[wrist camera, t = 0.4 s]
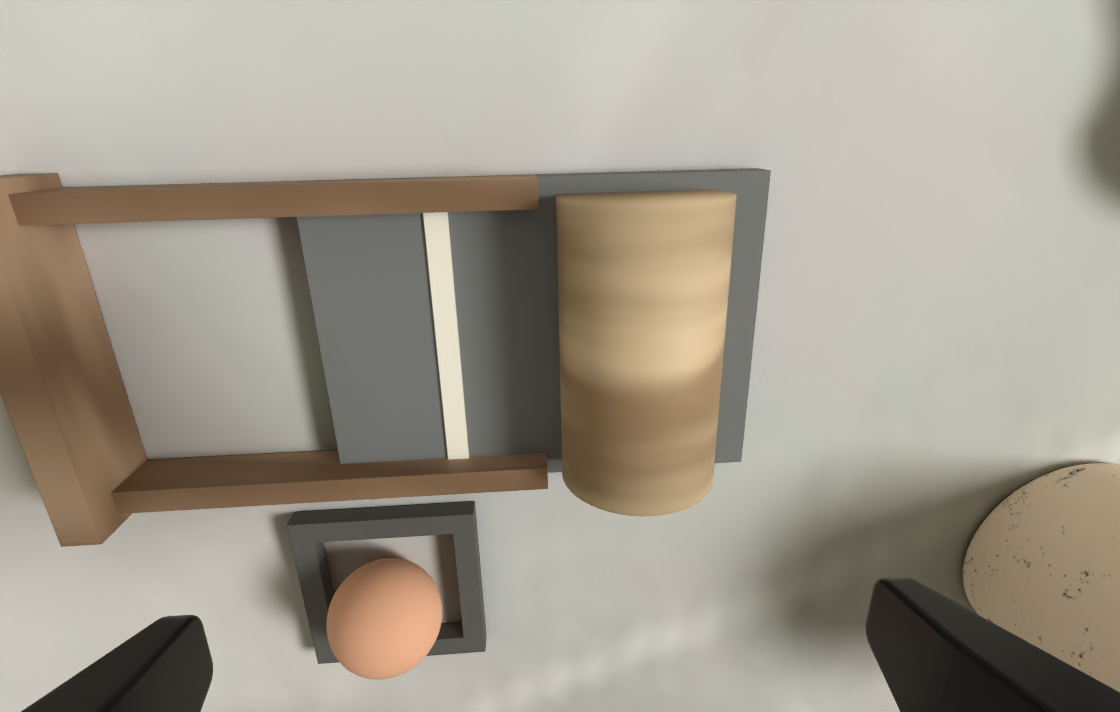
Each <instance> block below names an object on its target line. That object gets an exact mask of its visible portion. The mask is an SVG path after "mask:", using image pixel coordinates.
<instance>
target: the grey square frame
mask: <svg viewBox="0 0 1120 712" xmlns="http://www.w3.org/2000/svg"><path fill="white" fill-rule="evenodd" d="M287 527H288V532H289V536H290V541H291V545H292V549H293V554H294V558H295V563H296V567H297V572H298V576H299V581H300V585H301V590H302V594H303V598H304V603H305V607H306V612H307V616H308V621H309V625H310V630H311V634H312V639H313V643H314V647H315V652H316V656H317V661H318V664H322V663H336V662H339V661H338V660H337V658H336V657H335V655H334V653H333V651H332V649H331V647H330V644H329V641H328V637H327V627H326V625H327V614H328V610H329V606H330V603H331V601H332V598H333V596H334V593H333V588H332V583H331V578H330V573H329V568H328V563H327V558H326V553H325V548H324V543H323V542H330V541H346V540H362V539H378V538H395V537H411V536H427V535H443V534H453V539H454V548H455V558H456V567H457V577H458V587H459V596H460V606H461V615H462V622H460V623H446V624H441V627H440V631H439V634H438V636H437V639H436V641H435V643H434V645H433V646H432V648H431V650H430V651H429V652H428V654H427V655H426V656H430V655H444V654H457V653H471V652H484V651H485V649H486V627H485V615H484V603H483V592H482V580H481V569H480V557H479V545H478V534H477V522H476V511H475V501H473V502H456V503H439V504H422V505H405V506H388V507H372V508H355V509H338V510H321V511H304V512H295V513H294V514H293V516H292V518H291V520H290V521H289V523H288V525H287Z"/></svg>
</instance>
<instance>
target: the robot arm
mask: <svg viewBox="0 0 1120 712" xmlns="http://www.w3.org/2000/svg"><path fill="white" fill-rule="evenodd" d="M866 635H867V639H868V642H869V645H870V647H871V649H872V651H873V654H874V656H875V658H876V660H877V662H878V664H879V667H880V669H881V671H882V673H883V675H884V677H885V679H886V682H887V684H888V686H889V688H890V690H891V692H892V695H893V697H894V699H895V701H896V703H897V705H898V708H899V710H900V712H1120V692H1119V691H1117V690H1115V689H1113V688H1111V687H1110V686H1108V685H1106V684H1104V683H1102V682H1100V681H1099V680H1097V679H1095V678H1093V677H1091V676H1089V675H1088V674H1086V673H1084V672H1082V671H1080V670H1079V669H1077V668H1075V667H1073V666H1071V665H1069V664H1068V663H1066V662H1064V661H1062V660H1060V659H1058V658H1057V657H1055V656H1053V655H1051V654H1049V653H1047V652H1046V651H1044V650H1042V649H1040V648H1038V647H1036V646H1035V645H1033V644H1031V643H1029V642H1027V641H1026V640H1024V639H1022V638H1020V637H1018V636H1016V635H1015V634H1013V633H1011V632H1009V631H1007V630H1005V629H1004V628H1002V627H1000V626H998V625H996V624H994V623H993V622H991V621H989V620H987V619H985V618H983V617H982V616H980V615H978V614H976V613H974V612H972V611H971V610H969V609H967V608H965V607H963V606H962V605H960V604H958V603H956V602H954V601H952V600H951V599H949V598H947V597H945V596H943V595H941V594H940V593H938V592H936V591H934V590H932V589H930V588H929V587H927V586H925V585H923V584H921V583H919V582H918V581H916V580H914V579H912V578H909V577H886V578H880V579H878V580H877V581H876V583H875V584H874V587H873V592H872V596H871V601H870V606H869V611H868V616H867V620H866ZM212 675H213V662H212V658H211V654H210V650H209V647H208V643H207V639H206V635H205V631H204V628H203V624H202V622H201V620H200V619H199V618H198V617H197V616H194V615H181V616H167V617H163V618H160V619H159V620H157V621H155V622H154V623H152V624H151V625H149V626H148V627H146V628H145V629H143V630H142V631H140V632H139V633H137V634H136V635H134V636H133V637H131V638H130V639H128V640H127V641H125V642H124V643H122V644H121V645H120V646H118V647H117V648H115V649H114V650H112V651H111V652H109V653H108V654H106V655H105V656H103V657H102V658H100V659H99V660H97V661H96V662H94V663H93V664H91V665H90V666H88V667H87V668H85V669H84V670H82V671H81V672H79V673H78V674H76V675H75V676H73V677H72V678H70V679H69V680H67V681H66V682H64V683H63V684H61V685H60V686H59V687H57V688H56V689H54V690H53V691H51V692H50V693H48V694H47V695H45V696H44V697H42V698H41V699H39V700H38V701H36V702H35V703H33V704H32V705H30V706H29V707H27V708H26V709H24V710H23V711H21V712H200V711H201V709H202V706H203V703H204V701H205V698H206V695H207V692H208V690H209V687H210V684H211V680H212Z"/></svg>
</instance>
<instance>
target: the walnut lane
mask: <svg viewBox="0 0 1120 712" xmlns="http://www.w3.org/2000/svg"><path fill="white" fill-rule="evenodd" d="M533 209H539V208H538V180H537V177H536V175H501V176H464V177H427V178H391V179H354V180H318V181H281V182H245V183H208V184H171V185H135V186H98V187H62V185H61V182H60V179H59V175H58V173H49V174H13V175H2V176H0V393H1V396H2V398H3V401H4V403H5V406H6V409H7V411H8V414H9V416H10V419H11V421H12V424H13V426H14V429H15V431H16V434H17V436H18V439H19V441H20V444H21V446H22V449H23V452H24V454H25V457H26V459H27V462H28V464H29V467H30V469H31V472H32V474H33V477H34V479H35V482H36V484H37V487H38V489H39V492H40V495H41V497H42V500H43V502H44V505H45V507H46V510H47V512H48V515H49V517H50V520H51V522H52V525H53V527H54V530H55V532H56V535H57V538H58V540H59V543H60V545H61V547H63V546H79V545H96V544H102V543H103V542H104V541H105V540H106V539H107V538H108V537H109V536H110V535H111V534H112V533H113V532H114V531H115V530H116V529H117V528H118V527H119V526H120V525H121V524H122V523H123V522H124V521H125V520H126V519H127V518H128V517H129V516H130V515H131V514H132V513H140V512H157V511H174V510H191V509H209V508H226V507H243V506H260V505H277V504H294V503H311V502H329V501H346V500H363V499H380V498H397V497H414V496H431V495H448V494H466V493H483V492H500V491H517V490H534V489H548V476H547V460H546V453H533V454H515V455H496V456H478V457H469V459H451V460H448V458H442V459H423V460H405V461H387V462H369V463H350V464H340V458H339V453H338V450H325V451H306V452H288V453H269V454H250V455H232V456H213V457H194V458H175V459H157V460H147V458H146V455H145V451H144V448H143V445H142V442H141V439H140V435H139V432H138V429H137V426H136V423H135V419H134V416H133V413H132V410H131V407H130V403H129V400H128V397H127V394H126V390H125V387H124V384H123V381H122V378H121V374H120V371H119V368H118V365H117V362H116V358H115V355H114V352H113V349H112V346H111V342H110V339H109V336H108V333H107V329H106V326H105V323H104V320H103V317H102V313H101V310H100V307H99V304H98V301H97V297H96V294H95V291H94V288H93V285H92V281H91V278H90V275H89V272H88V269H87V265H86V262H85V259H84V256H83V252H82V249H81V246H80V243H79V240H78V236H77V233H76V230H75V227H74V224H78V223H111V222H143V221H176V220H208V219H241V218H273V217H306V216H338V215H371V214H403V213H436V212H468V211H501V210H533Z"/></svg>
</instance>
